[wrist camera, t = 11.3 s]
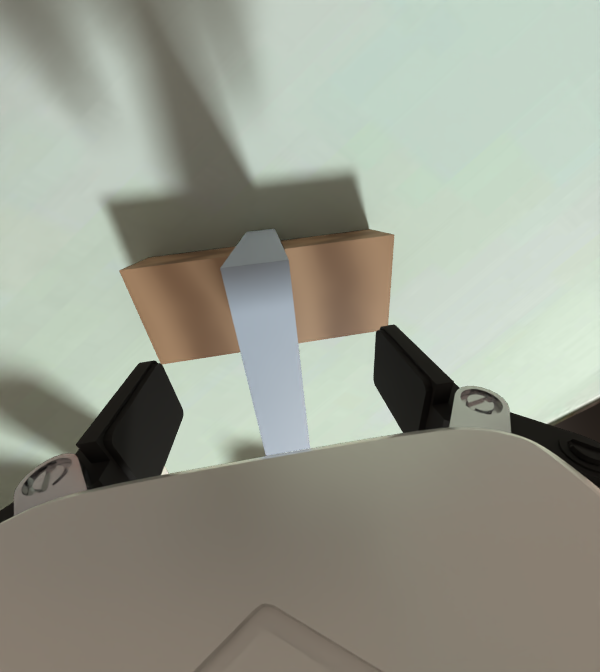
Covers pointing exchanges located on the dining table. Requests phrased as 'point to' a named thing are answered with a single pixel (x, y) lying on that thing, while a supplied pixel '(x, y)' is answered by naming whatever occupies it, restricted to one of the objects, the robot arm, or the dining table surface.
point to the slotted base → (307, 287)
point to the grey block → (268, 338)
